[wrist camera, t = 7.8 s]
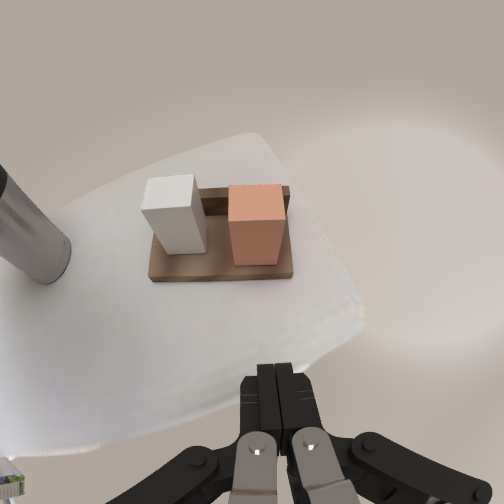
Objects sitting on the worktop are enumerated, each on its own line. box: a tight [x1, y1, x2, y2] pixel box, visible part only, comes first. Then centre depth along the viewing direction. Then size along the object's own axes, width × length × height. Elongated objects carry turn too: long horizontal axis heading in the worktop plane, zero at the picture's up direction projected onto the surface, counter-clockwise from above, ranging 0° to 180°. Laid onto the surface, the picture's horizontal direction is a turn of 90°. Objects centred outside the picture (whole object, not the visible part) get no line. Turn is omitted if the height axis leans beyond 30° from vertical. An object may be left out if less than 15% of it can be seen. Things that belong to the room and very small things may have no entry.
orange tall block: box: [228, 184, 286, 266], centre depth 29 cm, size 5×4×10 cm
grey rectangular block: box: [141, 174, 208, 255], centre depth 30 cm, size 5×4×10 cm
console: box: [148, 186, 293, 282], centre depth 34 cm, size 18×10×6 cm, turn 92°
